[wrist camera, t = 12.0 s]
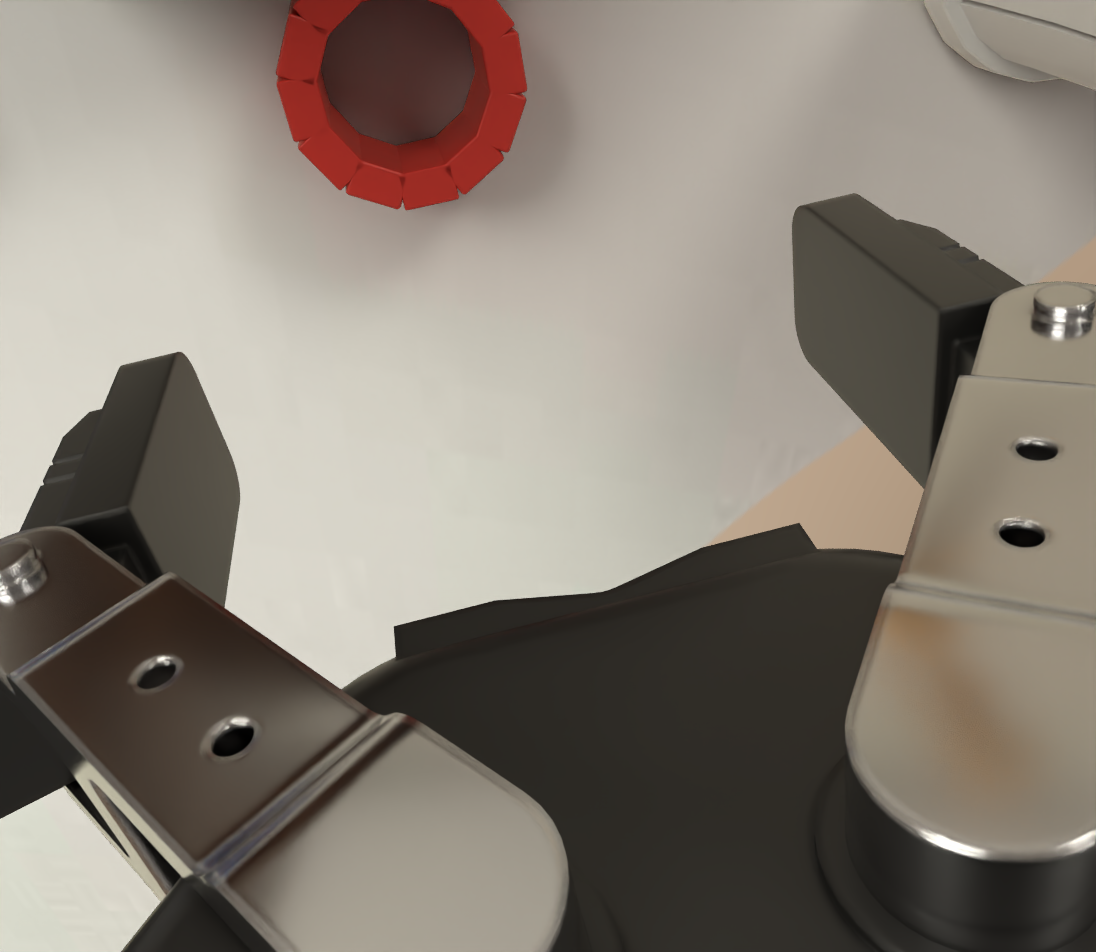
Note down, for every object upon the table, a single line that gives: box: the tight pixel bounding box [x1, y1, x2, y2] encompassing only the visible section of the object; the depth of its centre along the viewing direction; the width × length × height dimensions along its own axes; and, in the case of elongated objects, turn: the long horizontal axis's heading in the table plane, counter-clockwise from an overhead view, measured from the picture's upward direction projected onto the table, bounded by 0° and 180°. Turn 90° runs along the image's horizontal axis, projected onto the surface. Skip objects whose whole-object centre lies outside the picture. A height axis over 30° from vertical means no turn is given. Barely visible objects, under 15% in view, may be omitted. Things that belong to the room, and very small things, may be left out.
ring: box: [276, 0, 527, 210], centre depth 26 cm, size 6×6×3 cm
